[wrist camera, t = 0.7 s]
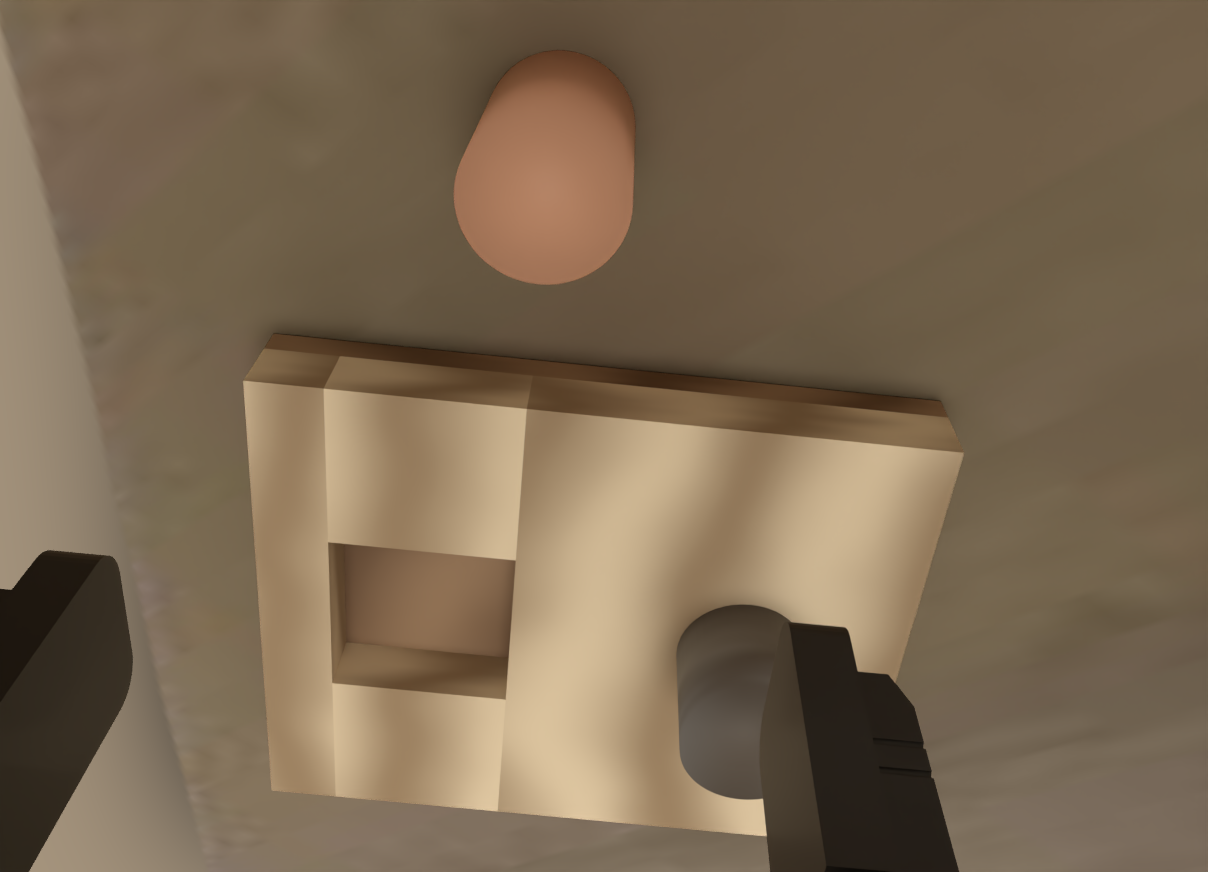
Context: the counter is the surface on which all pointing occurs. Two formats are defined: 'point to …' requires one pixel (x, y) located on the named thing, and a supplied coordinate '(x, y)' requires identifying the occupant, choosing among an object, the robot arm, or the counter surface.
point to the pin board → (565, 572)
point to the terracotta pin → (549, 170)
